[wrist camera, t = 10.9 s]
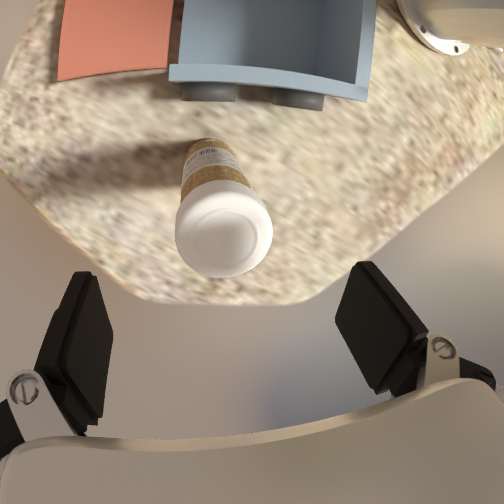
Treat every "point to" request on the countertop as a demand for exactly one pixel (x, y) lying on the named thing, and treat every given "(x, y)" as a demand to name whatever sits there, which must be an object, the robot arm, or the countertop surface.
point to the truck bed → (276, 49)
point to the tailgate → (113, 36)
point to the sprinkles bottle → (219, 214)
